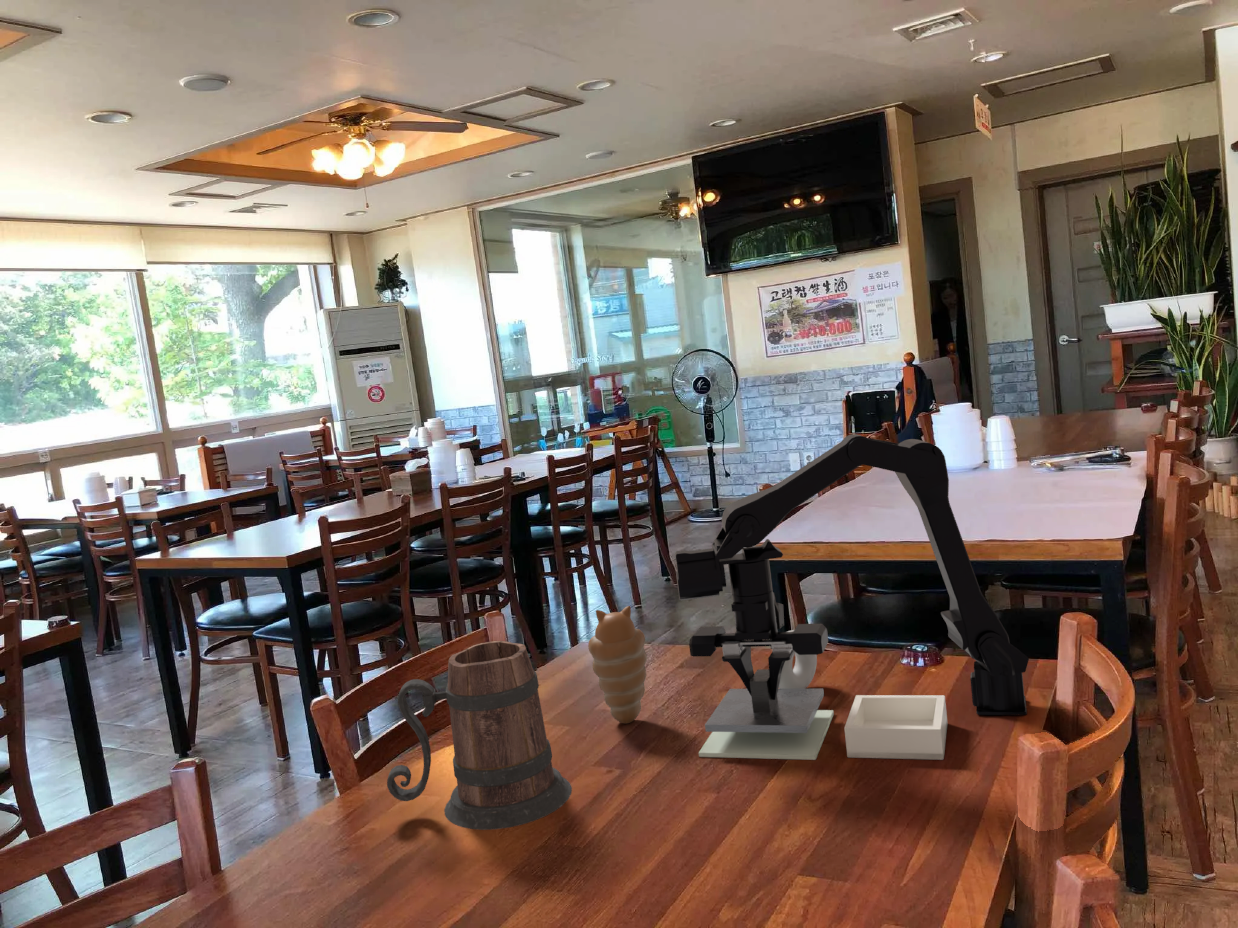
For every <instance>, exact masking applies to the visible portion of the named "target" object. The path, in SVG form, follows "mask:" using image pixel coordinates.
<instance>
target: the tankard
mask: <svg viewBox="0 0 1238 928" xmlns="http://www.w3.org/2000/svg"><path fill="white" fill-rule="evenodd" d="M412 690H417V691H419V692H421V693H422V702H423V706H424V709H423V711H422V714H421V715H422V716H423V717H424V718H427V717H429V716H430V715H431V714H432V713H433V711H434V709H435V705H436V704H437V703H436V702H438V701H440V700H446V704H447V705H448V706H449V707H448V708H449V717H450V725H451V735H452V743H453V744H452V745H453V754H454V756H453V759H452V763H453V764H452V765H453V775H454V777H455V779H456V786H455V788H453V790H452V793H451V795H450V799H448V801H447V803H446V804H445V807H444V810H443V812H444V816H445V818H446V820H447V821H449V822H450V823H451V824H453V825H454V826H455V825H456V826H458V827H461V828H463V829H464V828H465V829H469V830H477V831H478V830H479V831H481V830H482V831H487V830H491V831H492V830H500V829H508V828H513V827H518V826H521V825H525V824H526V825H527V824H529V823H532V822H534V821H538V820H539V819H542V818H544V817H546V816H548V815H550V814H552V813H554V812H556V811H558V809H560V808H561V807H563V806H564V804H565V803H567V801H568V800H569V799H570V797H571V795H572V791H573V790H572V789H573V786H572V784H571V783H570V781H568V779H567V778H565V777H563V776H562V774H561V772H560V770H558V769H557V768H555V767H553V763H552V759H553V753H552V746H551V743H550V740H549V739H548V738H547V733H546V728H545V726H546V725H545V721H544V716H543V711H542V705H541V700H540V694H539V679H538V674H537V672H536V671H535V670H534V668H533V665H532V662H531V659H530V656H529V653H528V651H527V647H526V645H525V644H522V643H516V642H511V641H503V640H494V641H486V642H481V643H477V644H474V645H472V646H470V647H467V648H466V649H463V650H461V651H459V652H457V653H455V654H451V656H450V657H449V659H448V667H447V685H446V688H445V690H443V691H436V688H434V687H433V686H432V685H431V684H430V683H429V682H427V681H425V680H423V679H420V678H417V679H414V678H413V679H410V680H408V681H406V682H405V683H404V684H403V685H402V686H401V689H400V690H399V692H398V696H397V697H398V698H397V704H398V708H399V710H400V713H401V715H402V716H403V719H405V721H406V722H407V724H408V726H410V727H411V729H412V730H413V731H414V732H415V734H416V736H417V738H418V740H419V743H420V746H421V750H422V751H421V752H422V755H423V756H422V757H423V759H422V760H423V768H422V769H423V770H422V776H421V778H420V780H419V782H418V783H417V785H415V786H413V787H412V788H409V789H406V787H409V784H410V782H411V779H412V772H411V770H410V768H409V767H408V766H407V765H403V764H400V765H399V764H398V765H396V766H394V767H393V768H391V769H390V772H388V773H389V774H388V777H387V779H386V782H387V783H386V787H387V789H388V793H390V794H391V796H393V798H395V799H396V800H398V801H401V802H409V801H413V800H415V799H417V798H418V797H420V796H421V794H422V793H423V792H424V791H425V789H426V787H427V784H428V781H429V776H430V771H431V764H432V763H431V762H432V755H431V754H432V752H431V751H432V749H431V746H430V744H431V743H430V739H429V736H428V734H427V730H426V729H425V727H424V726H423V724H422V722H421V720H420V719H419V718H418V716H417V715H416V714H415V713H414V712H413V710H412V709H411V708H410V706H409V703H408V701H407V699H406V698H407V697H406V694H407V693H408V692H410V691H412ZM398 776H402V777H404V778H405V779H406V780H401V781H400V786H399V785H398V784H397V782H396V780H395V778H396V777H398ZM404 788H405V789H404Z"/></svg>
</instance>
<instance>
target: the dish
mask: <svg viewBox="0 0 1238 928" xmlns="http://www.w3.org/2000/svg"><path fill="white" fill-rule="evenodd" d="M946 703H947V702H946V695H942V694H941V695H940V694H939V695H937V694H936V695H935V694H933V695H928V694H927V695H926V694H925V695H923V694H918V695H915V694H913V695H912V694H908V695H906V694H905V695H903V694H900V695H898V694H897V695H896V694H894V695H893V694H892V695H890V694H888V695H886V694H885V695H883V694H882V695H880V694H877V695H875V694H874V695H873V694H869V695H867V694H856V695H855V697H854V700H853V703H852V704H851V708H850V711H849V714H848V717H847V719H846V723H845V725H844V736H845V747H846V748H845V749H846V756H847V758H851V759H852V758H853V759H854V758H857V759H892V760H893V759H896V760H897V759H898V760H899V759H901V760H902V759H903V760H934V761H935V760H936V761H937V760H939V761H943V760H944V758H945V750H946V740H947V730H948V725H949V724H948V715H947V714H948V713H947V705H946Z"/></svg>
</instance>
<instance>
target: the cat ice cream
mask: <svg viewBox="0 0 1238 928" xmlns="http://www.w3.org/2000/svg"><path fill="white" fill-rule="evenodd" d="M631 609H632V607H631V605H627V606H625V607H624V608H623V609H622V610H621V611H620V612H619V611H614V612H609V613H607V612H605V611H602V610H599V609H596V610H595V615H596V618H597V621H598V622H597V626H596V628H595V631H594V632H595V633H594V636H592V637H591V638H590V639H589V641H588V646H587V647H588V651H589V653H590V655H591V657H592V658H593V662H592V671H593V673H594V674H595V675H596V677H598V687H599V688H600V690H601V691H602V692H603V697H604V698H603V699H604V702H605V704H606V705H607V706H608V707H609V708H610V714H611V716H612V718H613V719H614V720H616V721H617V722H619V723H621V724H629V723H633V722H634V721H635V720H636V719H637V718H638V716H639V715H640V712H641V711H642V710H641V709H642V704H641V700H642V699H643V697H644V695H645V691H646V688H645V682H646V677H647V668H646V662H647V657H648V656H647V652H646V649H645V644H646V636H645V633H644V632H643V631H642V630H641V629H639V628H636V627H635V624H634V622H633V620H632V618H631V617H632V616H631V614H632V610H631Z"/></svg>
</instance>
